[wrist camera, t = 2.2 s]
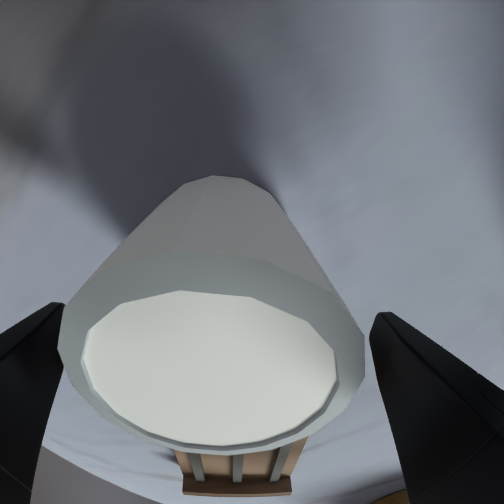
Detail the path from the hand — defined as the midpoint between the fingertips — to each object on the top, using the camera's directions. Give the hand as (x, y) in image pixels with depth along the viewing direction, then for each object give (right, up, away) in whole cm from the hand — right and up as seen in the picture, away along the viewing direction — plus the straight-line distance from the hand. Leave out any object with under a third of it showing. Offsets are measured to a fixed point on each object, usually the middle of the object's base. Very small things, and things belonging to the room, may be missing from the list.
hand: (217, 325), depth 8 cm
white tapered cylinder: (0, +2, +4) cm, 5 cm away
